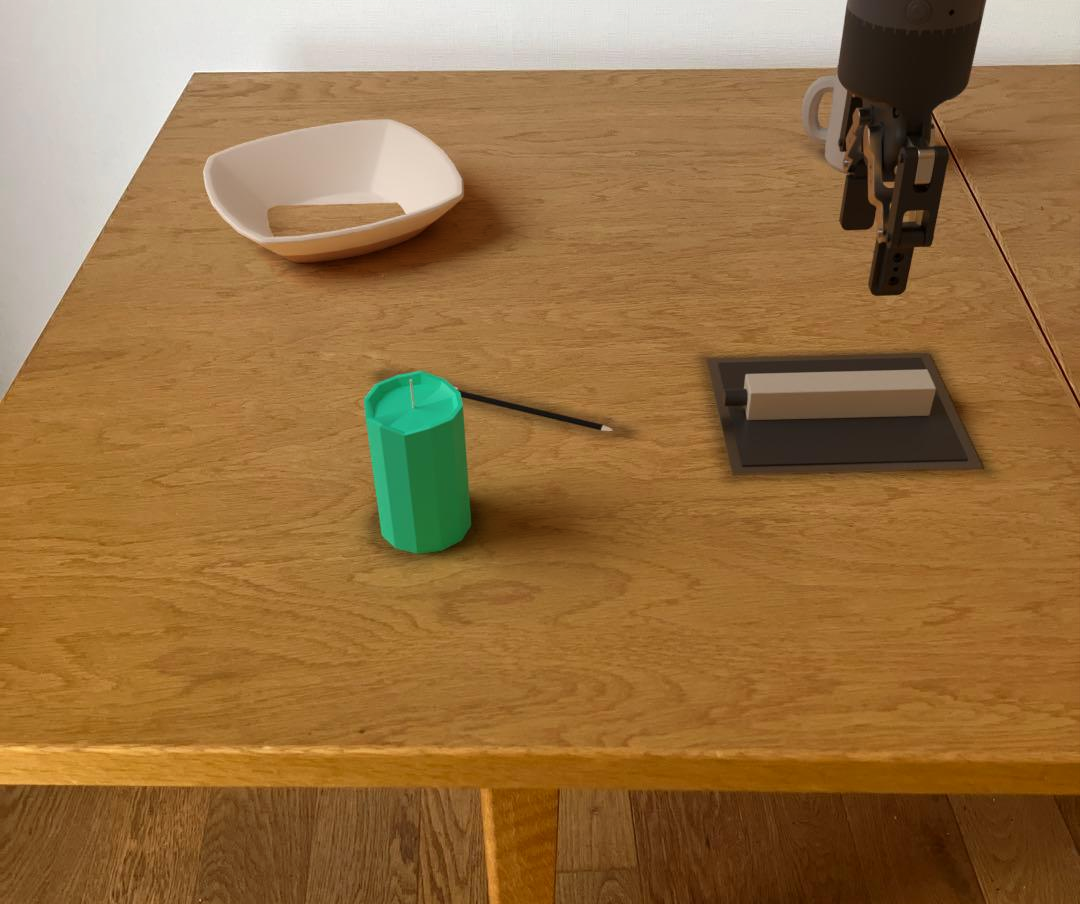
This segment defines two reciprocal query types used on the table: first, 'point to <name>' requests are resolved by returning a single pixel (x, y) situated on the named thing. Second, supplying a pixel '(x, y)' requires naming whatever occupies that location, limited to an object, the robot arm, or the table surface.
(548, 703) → the table surface
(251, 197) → the bowl
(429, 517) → the candle
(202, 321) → the table surface
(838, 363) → the tablet
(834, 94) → the cup
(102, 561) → the table surface
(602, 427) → the black pencil
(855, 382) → the stylus
